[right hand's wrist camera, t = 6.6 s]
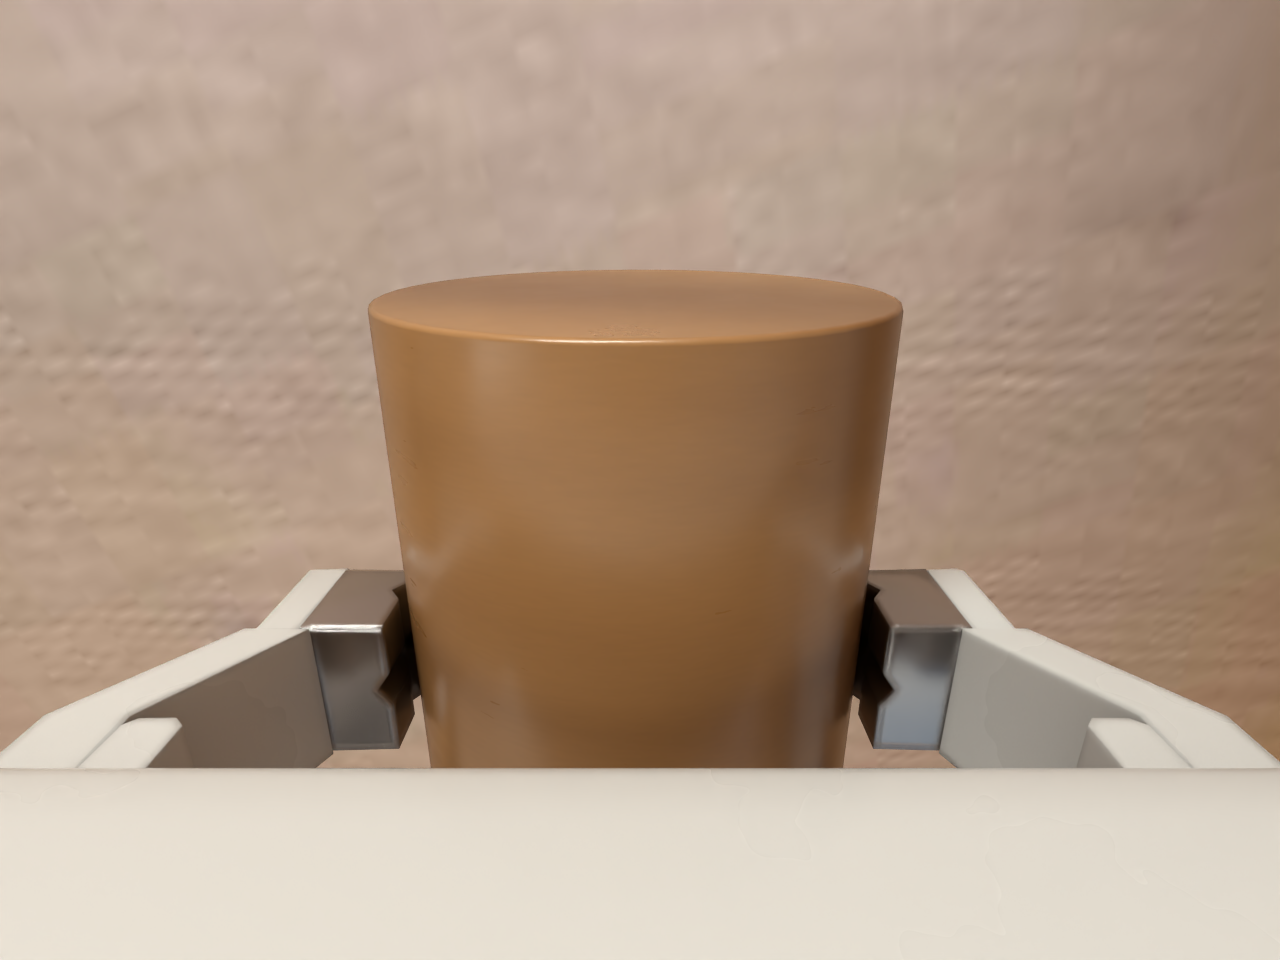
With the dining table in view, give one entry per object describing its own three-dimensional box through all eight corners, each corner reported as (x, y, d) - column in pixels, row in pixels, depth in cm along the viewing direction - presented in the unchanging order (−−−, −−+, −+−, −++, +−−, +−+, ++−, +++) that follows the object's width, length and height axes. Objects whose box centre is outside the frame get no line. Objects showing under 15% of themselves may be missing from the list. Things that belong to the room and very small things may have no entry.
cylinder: (504, 266, 12) (229, 323, 6) (882, 274, 10) (943, 355, 5) (561, 1108, 20) (463, 1441, 15) (775, 1172, 19) (754, 1563, 14)
